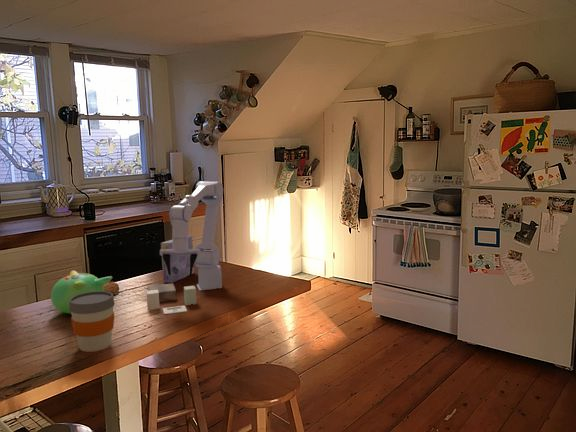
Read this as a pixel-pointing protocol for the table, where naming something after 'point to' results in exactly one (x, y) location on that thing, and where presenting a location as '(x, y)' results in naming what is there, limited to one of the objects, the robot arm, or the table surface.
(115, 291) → the pastry
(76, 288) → the green rounded plush
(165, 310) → the card
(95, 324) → the reusable coffee cup
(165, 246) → the cake pan box
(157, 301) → the cream block
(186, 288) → the sage block
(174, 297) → the taupe square block
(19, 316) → the table surface
